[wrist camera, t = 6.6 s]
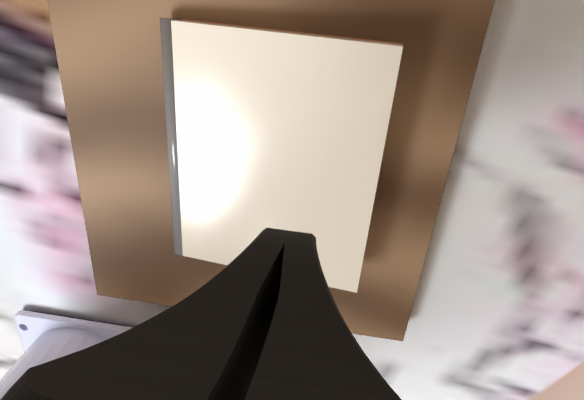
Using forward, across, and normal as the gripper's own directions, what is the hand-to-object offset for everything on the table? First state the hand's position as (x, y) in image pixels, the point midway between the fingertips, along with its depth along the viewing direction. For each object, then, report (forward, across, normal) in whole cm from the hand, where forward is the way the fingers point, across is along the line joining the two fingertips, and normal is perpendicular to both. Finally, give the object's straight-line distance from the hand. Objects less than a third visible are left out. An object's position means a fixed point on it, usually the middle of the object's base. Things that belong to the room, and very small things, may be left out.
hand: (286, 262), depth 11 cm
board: (+8, +2, 0) cm, 9 cm away
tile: (+6, +2, 0) cm, 6 cm away
